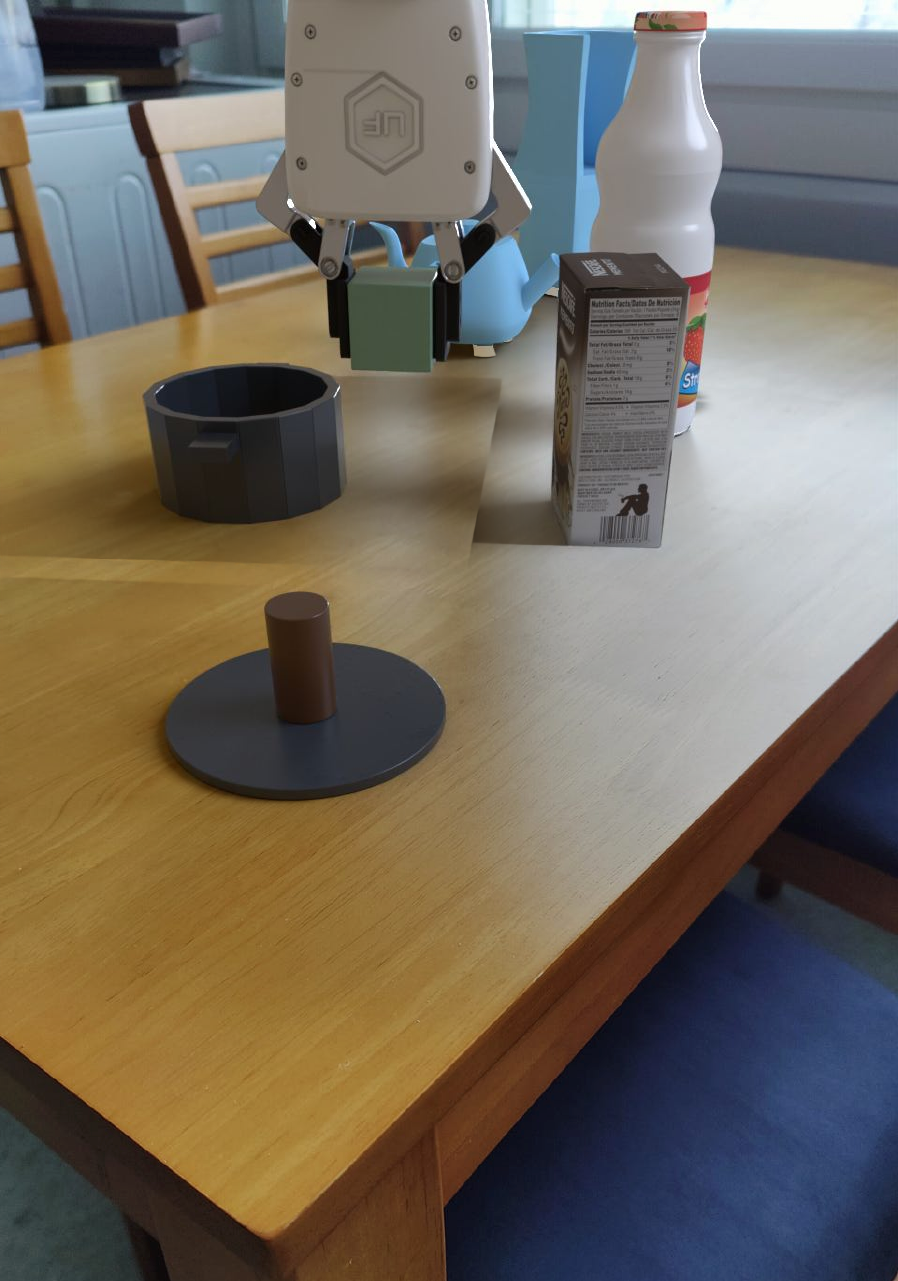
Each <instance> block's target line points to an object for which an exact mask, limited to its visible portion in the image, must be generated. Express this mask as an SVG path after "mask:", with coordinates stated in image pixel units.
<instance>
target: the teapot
mask: <svg viewBox="0 0 898 1281" xmlns="http://www.w3.org/2000/svg"><path fill="white" fill-rule="evenodd" d="M480 221H481V220H477V219H472V218H471V219H470V218H468V219H465V220H462V221H461V222H462V227H463V232H464V237H465V236H466V235H467V234H468V233H469V232H470V231H471V230H472V229H473V228H474V226H475V225H476V224H477V223H478V222H480ZM369 225H371V227H372V228H373V229H375V230H376V231H377V232H378V233H379V234H380V237H381V238H382V240H383V242H384V245H385V249H386V255H387V256H386V257H387V265H388V266H387V267H408V265H407V262H406V261H405V258H404V255H403V250H402V245H401V242H400V238H399V236H398V234H397V233H396V231H395V230H394V229H393V228H392V227H390V226H388V225H386V224H384V223H379V222H376V221H369ZM559 263H560V260H559V256H558V255H557V254H554V253H552V254H551V255H550V257H549V258H548V259H547V260H546V261H545V262H544V263H543V265H542V266H541V267H540V268H539V269H538V270H537V271H536V272H535V274H534V275H533V276H532V277H531V278H530V279H529V277H528V273H527V270H526V266H525V263H524V261H523V258H522V255H521V253H520V250H519V247H518V243H517V241H516V239H515V237H513V236H512V235H510V234H508V235H507V236H505V237H504V238H503V239H501V240H499V241H498V242H497V243H495V244H494V245H493V246H492V247H491V248H490V249H489V250H488V251H487V252H486V253H485V255H484V256H483V257H482V258H481V259H480V260H479V261H478V262H477V263H476V264H475V265H474V266H473V267H472V268H471V269H470V270H469V271H468V272H467V273H466V274H465V275H464V277H463V278H462V330H461V340H460V342H450V344H461V345H473V344H474V345H477V346H492V345H494V344H501V343H500V342H504V341H507V340H510V339H511V338H512V339H513V338H515V337H516V336H518V335H519V334H520V333H521V332H522V330H523V329H524V328H525V326H526V324H527V322H528V321H529V319H530V317H531V314H532V310H533V306H534V305H535V304H536V303H537V302H538V301H539V300H540V299H541V298H542V297H543V296H544V294H545V293H546V292H547V291H548V290H549V289H550V288H551V287H552V286H553V285H554V284H555V282H556V281H557V280H558V279H559ZM439 264H440V262H439V257H438V252H437V247H436V243H435V238H434V234H431V235H429V236H427V237H425V238H424V239H422V240H421V242H419V243H418V246H417V248H416V251H415V253H414V256H413V259H412V261H411V264H410V266H409V267H413V268H438V266H439Z"/></svg>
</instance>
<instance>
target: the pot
mask: <svg viewBox="0 0 898 1281" xmlns="http://www.w3.org/2000/svg"><path fill="white" fill-rule="evenodd" d="M341 390H342V389H341V385H340V384H339V383H338V381H337V380H336V379H335V378H334V377H333V376H332V375H331V374H328V373H326V372H323V371H320V370H318V369H315V368H312V367H308V366H301V365H294V364H290V362H243V363H232V364H219V365H211V366H205V367H200V368H197V369H196V368H195V369H190V370H186V371H182V372H178V373H176V374H173V375H171V376H169V377H166V378H163V379H161V380H159V381H156V382H154V383H153V384H152V385H151V386H150V387H148V388H147V389H146V390H145V391H144V392H143V394H142V402H143V408H144V414H145V421H146V427H147V431H148V438H149V443H150V449H151V450H150V451H151V456H152V461H153V467H154V473H155V479H156V485H157V490H158V491H157V492H158V496H159V499H160V502H161V506H162V507H164V508H166V509H167V510H169V511H171V512H172V513H174V514H175V515H177V516H178V517H181V518H185V519H190V520H194V521H198V522H199V521H200V522H203V523H204V522H205V523H209V524H223V525H224V524H225V525H226V524H227V525H229V524H230V525H254V524H262V523H270V522H278V521H285V520H292V519H295V518H297V517H301V516H304V515H307V514H310V513H311V514H312V513H314V512H318V511H320V510H322V509H324V508H326V507H327V506H329V505H330V504H332V503H333V502H335V501H336V500H338V499H339V498H341V497H342V495H343V493H344V491H345V488H346V486H347V484H348V480H347V466H346V465H347V464H346V451H345V450H346V449H345V436H344V435H345V434H344V420H343V419H344V418H343V406H342V404H343V402H342V391H341Z"/></svg>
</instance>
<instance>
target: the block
mask: <svg viewBox="0 0 898 1281" xmlns="http://www.w3.org/2000/svg"><path fill="white" fill-rule="evenodd" d="M436 278H437V268H413V267H410V266H407V267H389V266H378V265H377V266H375V265H373V266H372V265H361V266H360V267H359V268H358V269H357V270H356V274H355V275H354V276H353V278H352V279H351V280H350V282H349V283H348V309H349V332H350V356H351V358H350V369H351V371H361V372H363V371H364V372H389V373H391V372H394V373H417V374H419V373H422V374H431V373H432V371H433V369H434V367H435V363H436V362H437V361H436V359H433V284H434V282H435V280H436Z"/></svg>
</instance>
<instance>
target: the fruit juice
mask: <svg viewBox="0 0 898 1281" xmlns="http://www.w3.org/2000/svg"><path fill="white" fill-rule="evenodd" d="M707 30H708V13H707V11H702V10H649V11H648V10H647V11H639V12H636V14H635V17H634V23H633V31H635V32H634V34H635V36H634V41H636V42H637V57H636V63H635V67H634V71H633V75H632V78H631V82H630V85H629V88H628V91H627V94H626V96H625V99H624V101H623V104H622V106H621V108H620V110H619V112H618V113H617V115H616V116H615V118H614V119H613V120H612V122H611V123H610V124H609V126H608V127H607V129H606V130H605V132H604V134H603V135H602V137H601V139H600V142H599V145H598V149H597V155H596V163H595V171H596V179H597V185H598V190H599V196H600V203H599V209H598V213H597V215H596V217H595V220H594V222H593V225H592V229H591V235H590V242H589V251H588V252H616V253H626V254H639V253H657V254H658V255H659V256H660V257H661V258H662V259H663V260H664V261H665V262H666V263H667V264H668V265H669V266H670V267H671V268H672V269H673V270H674V271H675V272H676V273H677V274H678V275H679V276H680V277H681V278H683V279H684V280H685V281H686V282H687V283H688V284H689V285H690V286H691V288H690V297H689V306H688V315H687V325H686V333H685V342H684V352H683V361H682V370H681V379H680V387H679V396H678V404H677V413H676V422H675V431H674V433H677V432H681V431H683V430H685V429H687V428H688V427H689V426H690V425H691V426H692V424H693V421H694V417H695V414H696V408H697V398H698V390H699V381H700V375H701V374H700V372H701V365H702V358H703V357H702V356H703V355H702V354H703V348H704V347H703V346H704V338H705V330H706V321H707V312H708V305H709V304H708V303H709V294H710V286H711V279H712V278H711V277H712V272H713V271H712V270H713V264H714V256H715V255H714V254H715V224H714V220H713V217H712V209H711V207H712V200H713V197H714V193H715V190H716V188H717V185H718V182H719V179H720V176H721V172H722V169H723V153H724V152H723V143H722V138H721V135H720V132H719V131H718V129H717V127H716V125H715V124H714V122H713V120H712V118H711V117H710V114H709V112H708V110H707V106H706V104H705V99H704V94H703V88H702V80H701V73H700V50H701V44H702V43H703V42H704V41H705V39H706V33H707V32H706V31H707ZM691 426H690V427H691Z"/></svg>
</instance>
